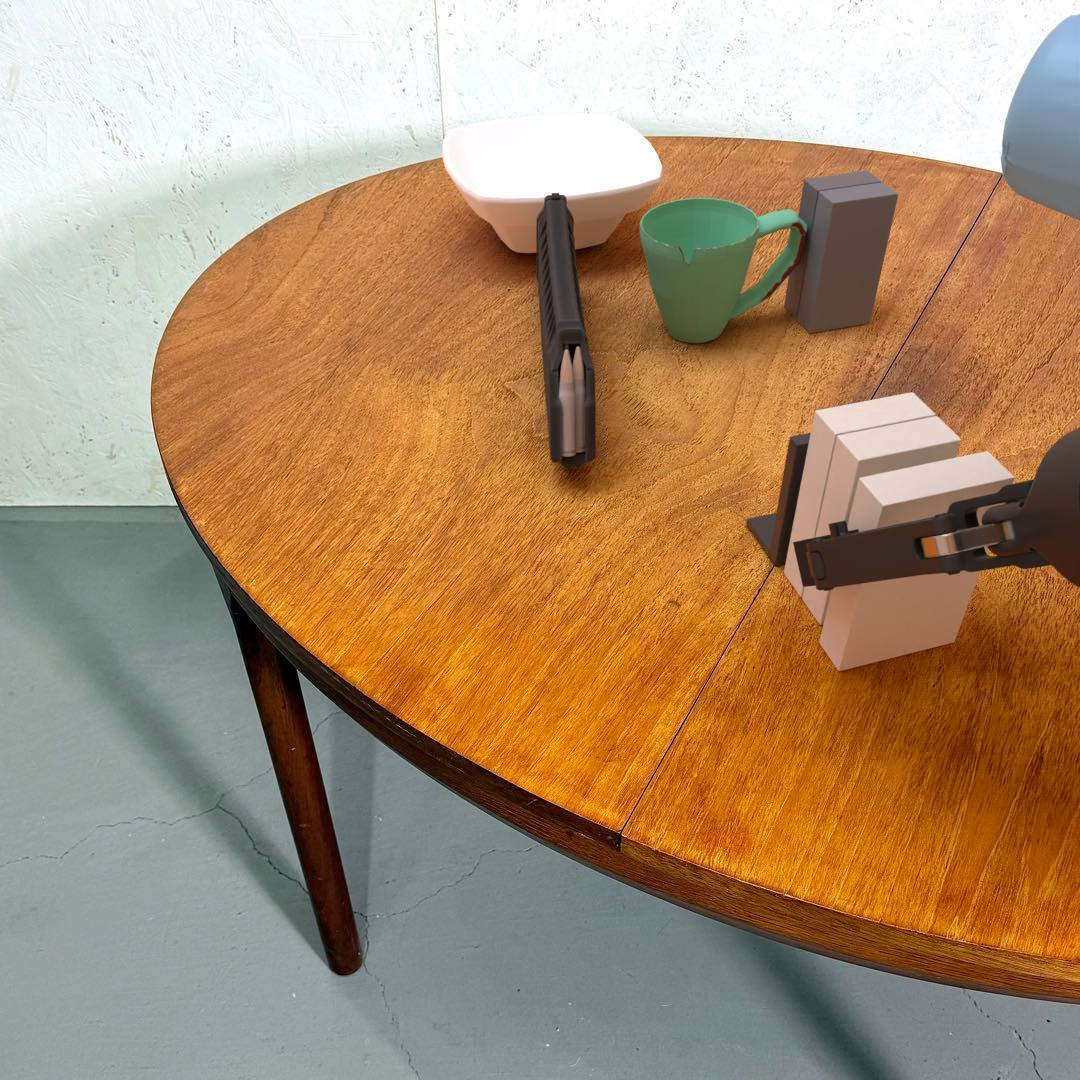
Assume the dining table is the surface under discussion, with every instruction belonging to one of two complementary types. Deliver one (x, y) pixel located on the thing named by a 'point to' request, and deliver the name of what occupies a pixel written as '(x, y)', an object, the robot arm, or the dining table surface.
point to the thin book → (918, 601)
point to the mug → (711, 262)
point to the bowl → (552, 173)
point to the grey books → (840, 250)
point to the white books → (845, 473)
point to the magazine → (564, 339)
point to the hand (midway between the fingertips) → (882, 545)
